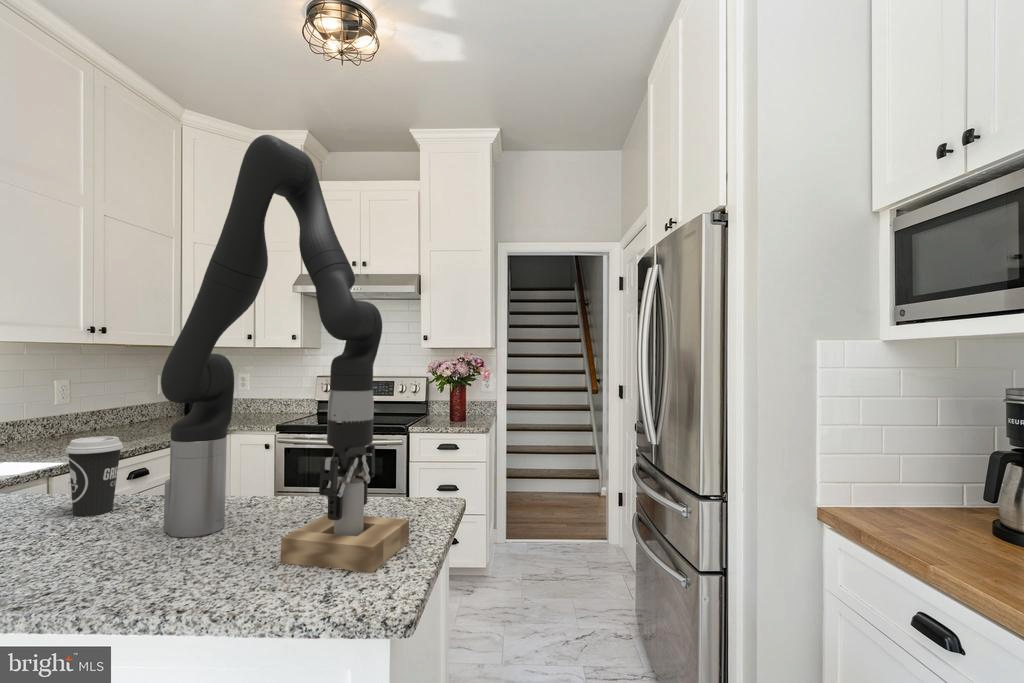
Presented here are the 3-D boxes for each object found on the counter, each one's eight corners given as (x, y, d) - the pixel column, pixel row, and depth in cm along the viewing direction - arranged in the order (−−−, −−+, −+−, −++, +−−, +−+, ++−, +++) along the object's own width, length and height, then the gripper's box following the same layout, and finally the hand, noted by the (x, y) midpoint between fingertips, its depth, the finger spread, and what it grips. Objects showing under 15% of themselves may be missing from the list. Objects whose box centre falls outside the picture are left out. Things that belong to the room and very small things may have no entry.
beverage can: (354, 558, 89) (355, 485, 89) (327, 556, 90) (329, 483, 90) (367, 548, 94) (369, 478, 94) (342, 545, 95) (343, 477, 95)
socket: (280, 563, 87) (281, 537, 87) (328, 534, 100) (328, 512, 100) (372, 573, 83) (372, 547, 83) (408, 542, 97) (409, 519, 97)
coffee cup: (98, 519, 107) (100, 443, 107) (50, 518, 107) (52, 442, 108) (132, 505, 117) (134, 436, 117) (88, 504, 117) (90, 435, 117)
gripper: (351, 411, 100) (349, 499, 100) (306, 420, 86) (303, 522, 86) (389, 413, 98) (387, 502, 98) (349, 422, 84) (346, 527, 84)
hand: (348, 511), depth 92 cm, fingers open, 8 cm apart
